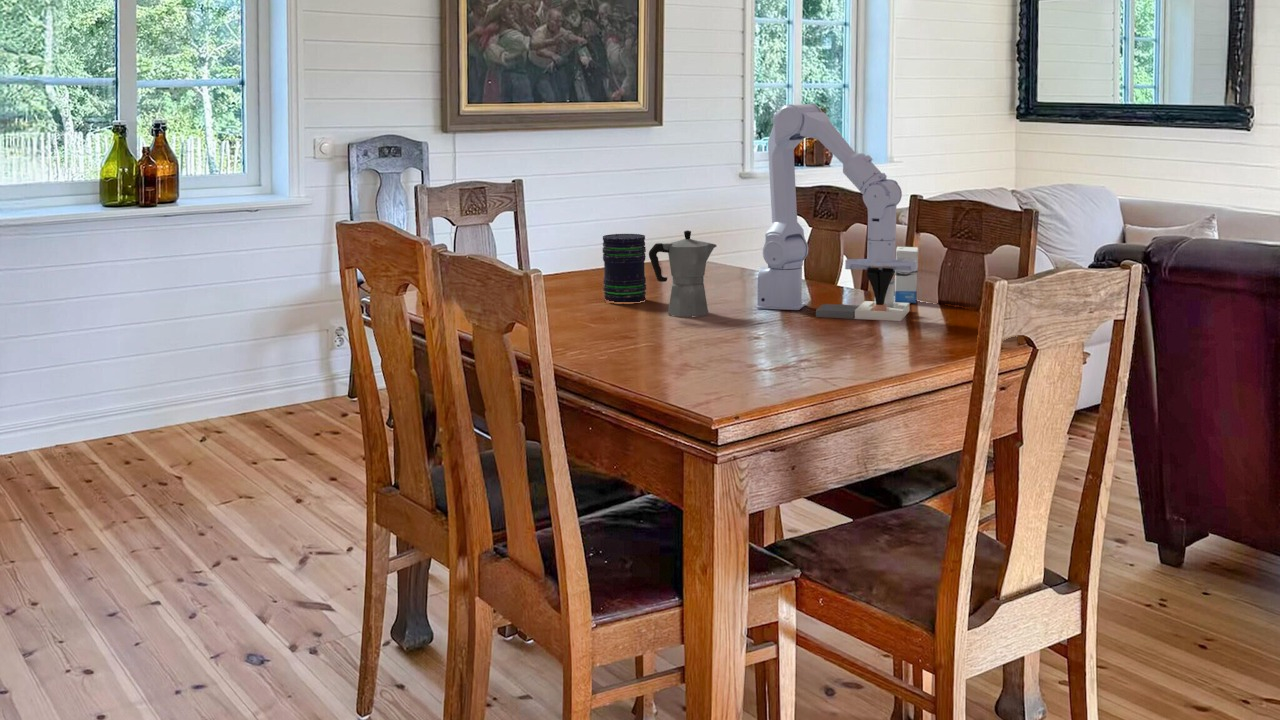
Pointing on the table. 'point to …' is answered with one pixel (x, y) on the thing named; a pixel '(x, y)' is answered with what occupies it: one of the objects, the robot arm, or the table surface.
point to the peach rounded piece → (879, 307)
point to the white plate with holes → (882, 312)
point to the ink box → (906, 276)
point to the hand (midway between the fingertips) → (880, 304)
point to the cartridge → (889, 295)
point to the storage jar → (624, 267)
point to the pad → (836, 311)
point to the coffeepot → (685, 274)
